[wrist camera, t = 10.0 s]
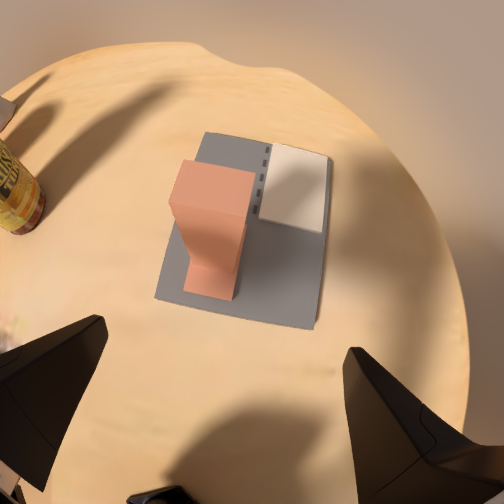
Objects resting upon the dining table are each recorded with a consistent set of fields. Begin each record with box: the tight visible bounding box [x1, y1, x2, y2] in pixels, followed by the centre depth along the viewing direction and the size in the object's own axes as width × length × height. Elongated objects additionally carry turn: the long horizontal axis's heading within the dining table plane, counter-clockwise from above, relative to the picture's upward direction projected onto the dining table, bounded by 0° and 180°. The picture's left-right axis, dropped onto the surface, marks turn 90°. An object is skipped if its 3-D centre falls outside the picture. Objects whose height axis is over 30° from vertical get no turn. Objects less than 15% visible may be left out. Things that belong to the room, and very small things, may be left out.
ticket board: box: [154, 132, 331, 330], centre depth 23 cm, size 16×12×2 cm
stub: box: [169, 160, 256, 301], centre depth 16 cm, size 6×4×11 cm, turn 169°
